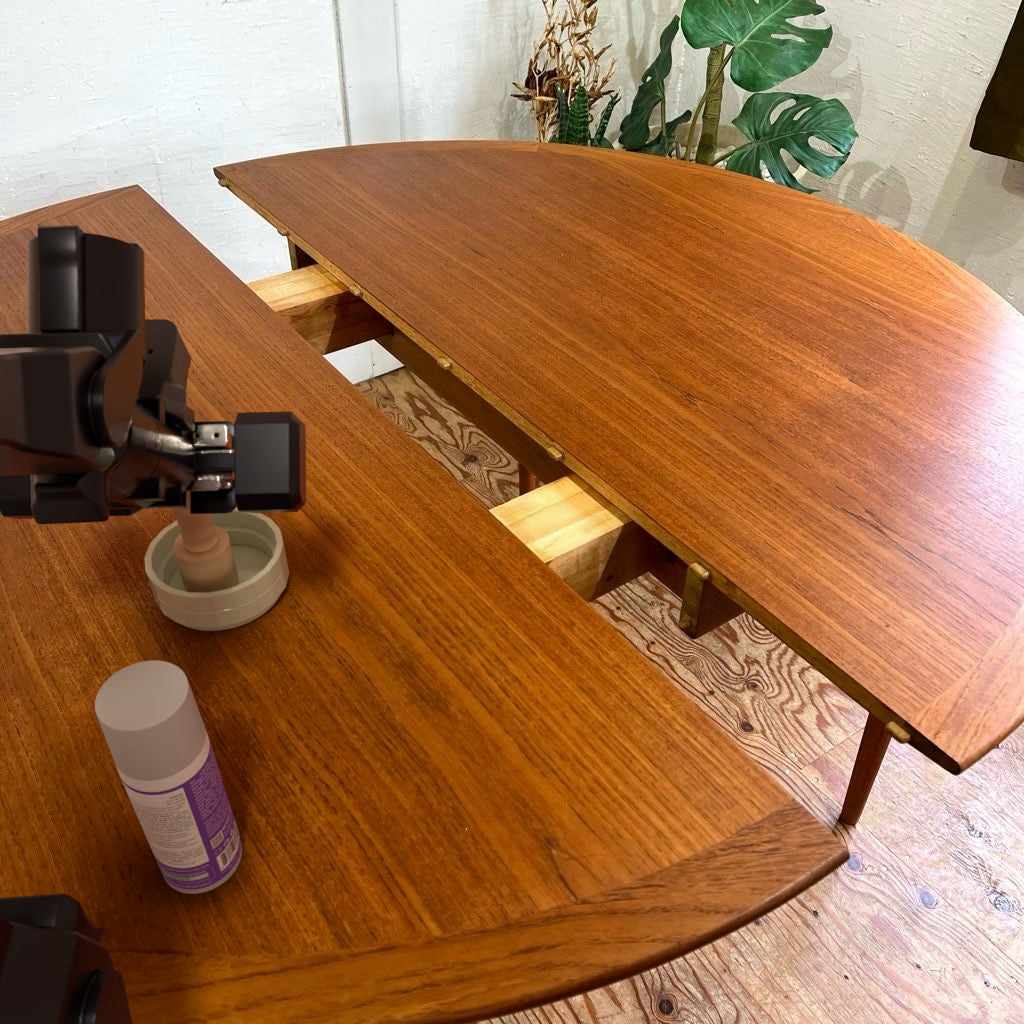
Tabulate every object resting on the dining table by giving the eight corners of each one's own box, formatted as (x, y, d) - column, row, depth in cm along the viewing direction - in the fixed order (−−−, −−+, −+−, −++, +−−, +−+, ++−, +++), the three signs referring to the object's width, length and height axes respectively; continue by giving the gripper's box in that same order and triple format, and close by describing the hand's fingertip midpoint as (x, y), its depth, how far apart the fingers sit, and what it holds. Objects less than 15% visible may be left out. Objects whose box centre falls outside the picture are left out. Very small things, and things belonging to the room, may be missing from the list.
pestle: (248, 583, 73) (197, 366, 61) (199, 608, 71) (136, 388, 59) (222, 556, 75) (169, 342, 63) (175, 579, 73) (110, 362, 61)
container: (216, 807, 59) (161, 643, 50) (258, 857, 57) (209, 694, 47) (146, 856, 57) (74, 693, 47) (187, 910, 54) (120, 750, 45)
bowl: (249, 648, 69) (240, 610, 67) (130, 618, 72) (116, 579, 69) (312, 559, 77) (305, 521, 74) (201, 534, 79) (191, 496, 76)
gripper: (279, 301, 54) (322, 368, 70) (-60, 306, 53) (61, 373, 69) (280, 497, 53) (324, 521, 69) (-65, 505, 52) (58, 528, 68)
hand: (192, 481), depth 68 cm, fingers closed on pestle, 2 cm apart
